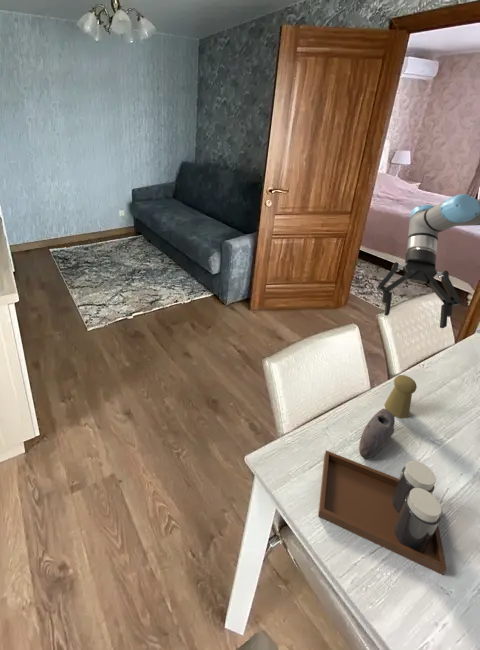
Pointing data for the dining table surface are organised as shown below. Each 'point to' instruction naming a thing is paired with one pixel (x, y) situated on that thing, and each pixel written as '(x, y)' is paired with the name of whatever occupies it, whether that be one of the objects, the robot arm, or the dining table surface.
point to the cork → (401, 396)
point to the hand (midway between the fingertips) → (414, 320)
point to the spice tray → (369, 508)
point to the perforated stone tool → (376, 433)
